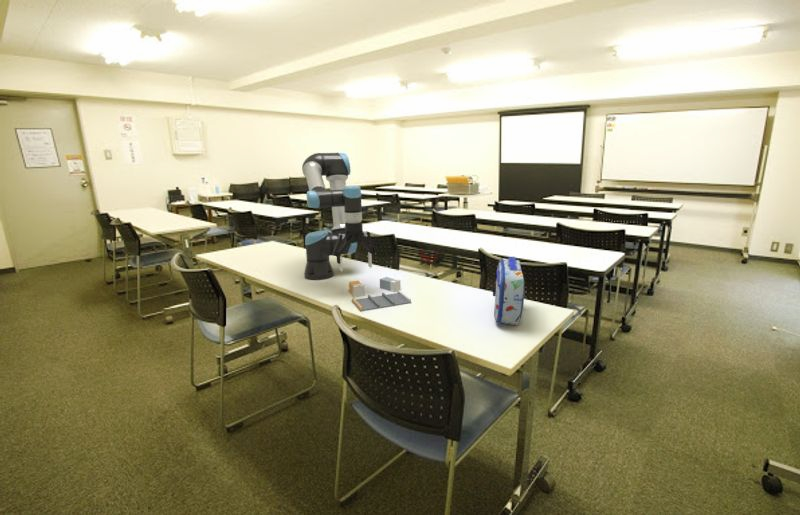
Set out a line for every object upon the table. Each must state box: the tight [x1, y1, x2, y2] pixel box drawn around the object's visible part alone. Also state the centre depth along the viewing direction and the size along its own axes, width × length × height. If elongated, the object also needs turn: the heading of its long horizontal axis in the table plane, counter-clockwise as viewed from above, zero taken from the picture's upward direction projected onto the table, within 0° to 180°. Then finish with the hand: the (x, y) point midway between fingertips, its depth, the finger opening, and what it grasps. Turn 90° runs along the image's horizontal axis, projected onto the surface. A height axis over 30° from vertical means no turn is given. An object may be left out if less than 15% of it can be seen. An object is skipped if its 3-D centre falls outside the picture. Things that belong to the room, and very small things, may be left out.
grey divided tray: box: [350, 290, 412, 312], centre depth 165 cm, size 13×22×2 cm, turn 113°
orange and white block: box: [348, 280, 366, 298], centre depth 176 cm, size 9×5×5 cm, turn 23°
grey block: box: [379, 276, 402, 293], centre depth 181 cm, size 9×5×5 cm, turn 48°
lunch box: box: [492, 256, 525, 326], centre depth 146 cm, size 28×10×22 cm, turn 168°
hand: (355, 268), depth 174 cm, fingers open, 13 cm apart
